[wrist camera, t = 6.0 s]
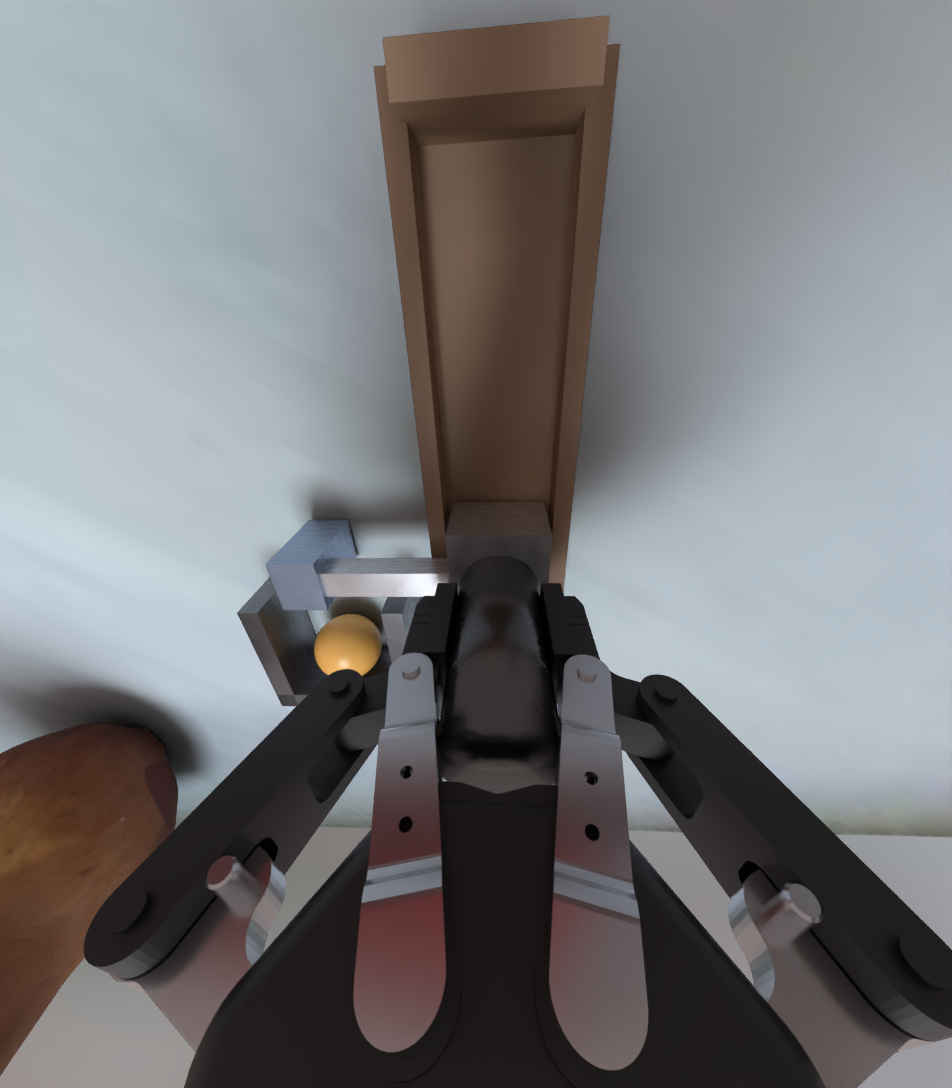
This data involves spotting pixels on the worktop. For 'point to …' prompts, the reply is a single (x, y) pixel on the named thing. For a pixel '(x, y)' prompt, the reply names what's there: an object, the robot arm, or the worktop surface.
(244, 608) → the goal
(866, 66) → the worktop surface
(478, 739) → the kicker
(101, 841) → the butternut squash
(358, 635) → the ball
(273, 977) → the robot arm
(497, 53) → the brown long open box
